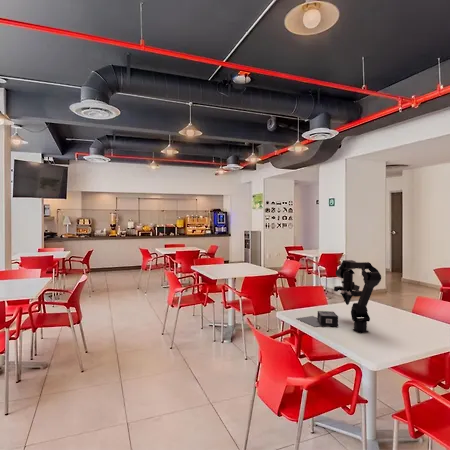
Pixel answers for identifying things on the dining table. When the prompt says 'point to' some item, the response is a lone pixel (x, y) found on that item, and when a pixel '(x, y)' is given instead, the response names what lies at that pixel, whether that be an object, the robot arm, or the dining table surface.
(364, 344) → the dining table surface
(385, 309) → the dining table surface
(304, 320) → the mat
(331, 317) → the small box
